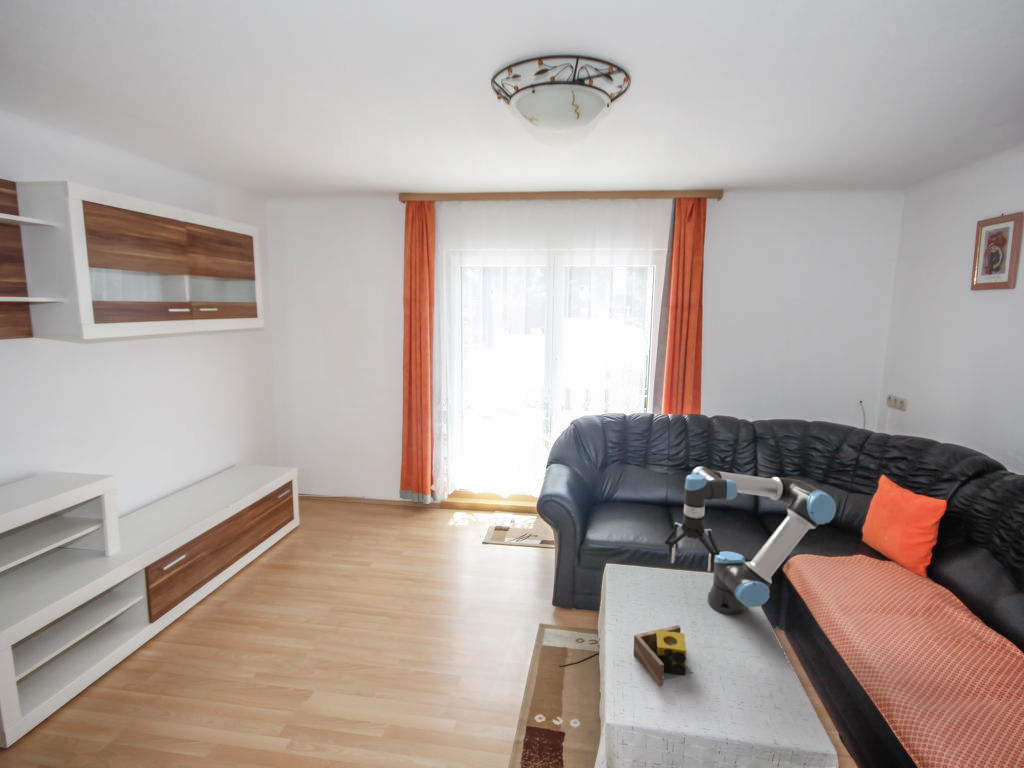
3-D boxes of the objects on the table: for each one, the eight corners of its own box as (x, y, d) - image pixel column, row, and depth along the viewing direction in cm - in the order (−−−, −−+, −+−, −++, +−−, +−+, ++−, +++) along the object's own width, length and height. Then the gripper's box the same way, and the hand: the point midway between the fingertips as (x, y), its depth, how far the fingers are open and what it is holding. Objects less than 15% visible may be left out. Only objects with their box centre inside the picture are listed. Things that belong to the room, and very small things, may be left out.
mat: (673, 652, 189) (673, 651, 189) (692, 672, 179) (692, 671, 179) (648, 658, 186) (648, 657, 186) (665, 679, 176) (665, 678, 176)
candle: (683, 657, 186) (684, 632, 185) (686, 677, 177) (687, 651, 175) (654, 653, 189) (655, 628, 187) (655, 672, 179) (657, 646, 177)
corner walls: (677, 644, 194) (678, 625, 193) (705, 673, 178) (707, 653, 177) (633, 654, 188) (634, 635, 187) (659, 686, 173) (660, 665, 171)
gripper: (659, 512, 199) (656, 562, 202) (727, 524, 187) (724, 577, 191) (662, 505, 205) (660, 554, 209) (729, 517, 194) (725, 568, 197)
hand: (690, 565), depth 200 cm, fingers open, 13 cm apart
